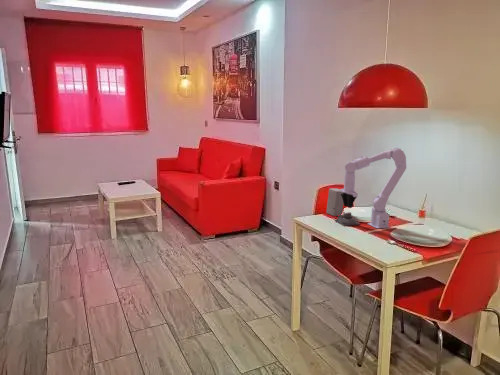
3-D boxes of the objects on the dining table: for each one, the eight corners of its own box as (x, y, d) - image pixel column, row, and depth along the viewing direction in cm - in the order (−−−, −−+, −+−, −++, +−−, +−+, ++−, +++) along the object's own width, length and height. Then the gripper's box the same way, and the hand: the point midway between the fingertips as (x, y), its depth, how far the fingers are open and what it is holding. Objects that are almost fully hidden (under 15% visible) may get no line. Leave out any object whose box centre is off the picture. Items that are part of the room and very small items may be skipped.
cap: (352, 222, 218) (352, 213, 217) (345, 222, 217) (346, 213, 216) (348, 219, 223) (348, 211, 222) (341, 220, 221) (341, 211, 220)
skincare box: (326, 213, 241) (327, 188, 238) (335, 212, 244) (336, 187, 241) (334, 216, 233) (335, 191, 231) (343, 215, 236) (345, 190, 233)
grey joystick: (359, 224, 217) (359, 218, 216) (343, 226, 214) (344, 219, 213) (349, 220, 226) (350, 214, 226) (334, 221, 223) (334, 215, 223)
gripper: (336, 181, 221) (335, 204, 224) (350, 185, 208) (348, 210, 210) (347, 180, 223) (345, 203, 226) (361, 185, 210) (359, 209, 212)
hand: (347, 206), depth 218 cm, fingers open, 4 cm apart
